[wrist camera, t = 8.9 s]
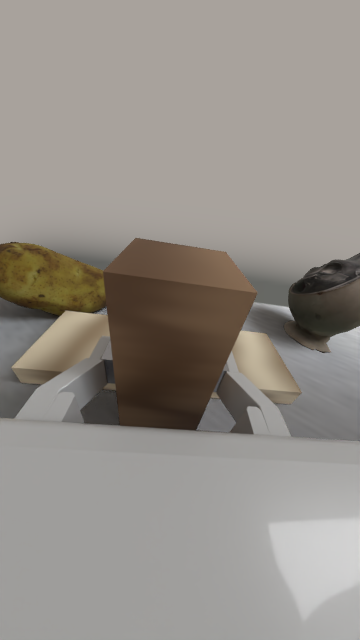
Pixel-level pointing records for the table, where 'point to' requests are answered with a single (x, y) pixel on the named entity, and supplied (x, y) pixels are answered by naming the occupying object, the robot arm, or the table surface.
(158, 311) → the wooden block
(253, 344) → the plank
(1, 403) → the table surface
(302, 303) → the round clay pot
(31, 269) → the potato
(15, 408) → the table surface
